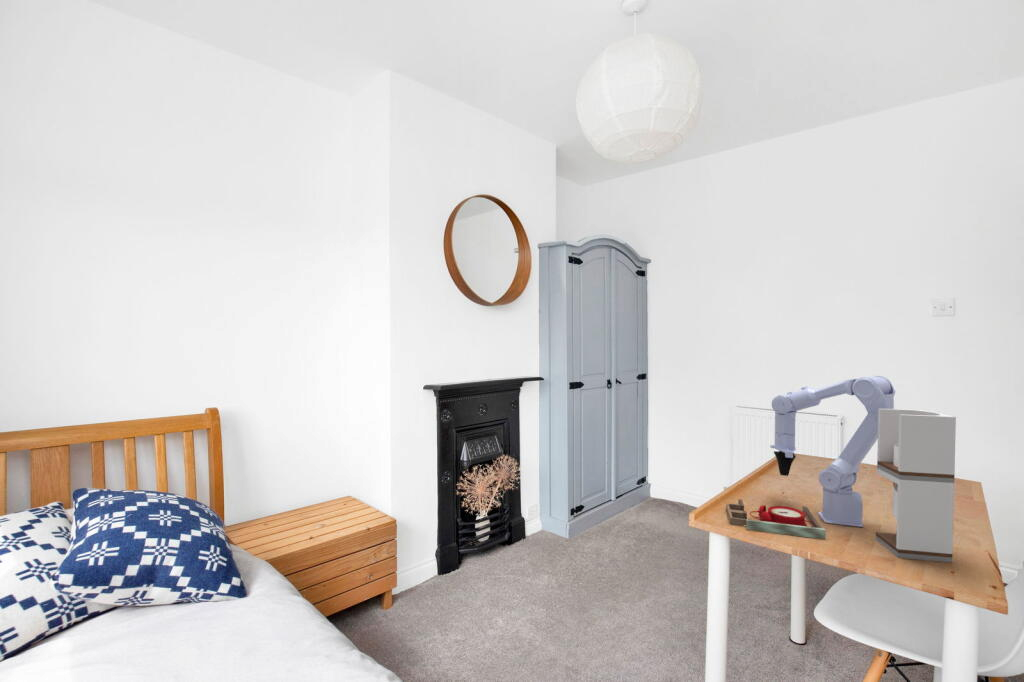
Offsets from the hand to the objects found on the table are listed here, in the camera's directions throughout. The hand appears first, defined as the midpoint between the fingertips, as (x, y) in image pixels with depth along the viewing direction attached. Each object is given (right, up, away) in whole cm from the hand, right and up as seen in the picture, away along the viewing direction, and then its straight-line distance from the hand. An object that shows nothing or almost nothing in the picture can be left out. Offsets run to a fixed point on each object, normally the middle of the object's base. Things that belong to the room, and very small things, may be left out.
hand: (784, 475), depth 157 cm
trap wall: (-9, -10, -13) cm, 19 cm away
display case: (+14, -10, -33) cm, 37 cm away
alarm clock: (-11, -10, -17) cm, 22 cm away
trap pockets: (-21, -9, -12) cm, 26 cm away
